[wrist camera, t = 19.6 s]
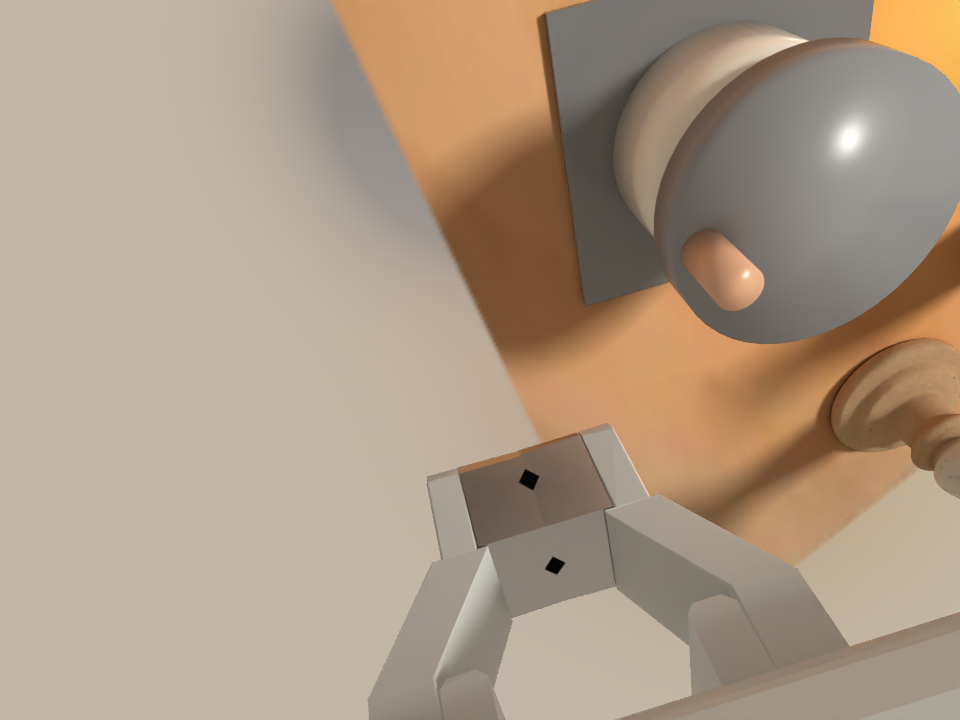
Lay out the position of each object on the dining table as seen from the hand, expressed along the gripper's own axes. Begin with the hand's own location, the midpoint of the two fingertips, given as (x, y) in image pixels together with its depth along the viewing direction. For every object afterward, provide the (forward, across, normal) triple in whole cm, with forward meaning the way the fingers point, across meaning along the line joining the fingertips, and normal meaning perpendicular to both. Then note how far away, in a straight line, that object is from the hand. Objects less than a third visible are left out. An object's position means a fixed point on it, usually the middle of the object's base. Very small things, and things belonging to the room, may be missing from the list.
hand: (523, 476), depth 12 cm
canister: (+35, -20, +12) cm, 42 cm away
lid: (+25, -20, +12) cm, 34 cm away
